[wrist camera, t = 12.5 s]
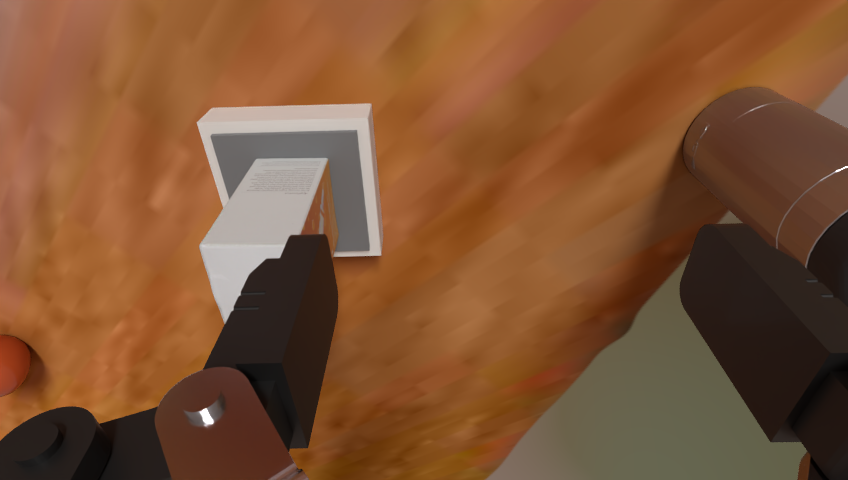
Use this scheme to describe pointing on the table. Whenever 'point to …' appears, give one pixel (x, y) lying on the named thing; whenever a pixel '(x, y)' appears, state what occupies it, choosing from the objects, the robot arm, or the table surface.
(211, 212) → the table surface
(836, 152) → the robot arm
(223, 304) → the small box
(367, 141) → the stack base
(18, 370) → the tomato
